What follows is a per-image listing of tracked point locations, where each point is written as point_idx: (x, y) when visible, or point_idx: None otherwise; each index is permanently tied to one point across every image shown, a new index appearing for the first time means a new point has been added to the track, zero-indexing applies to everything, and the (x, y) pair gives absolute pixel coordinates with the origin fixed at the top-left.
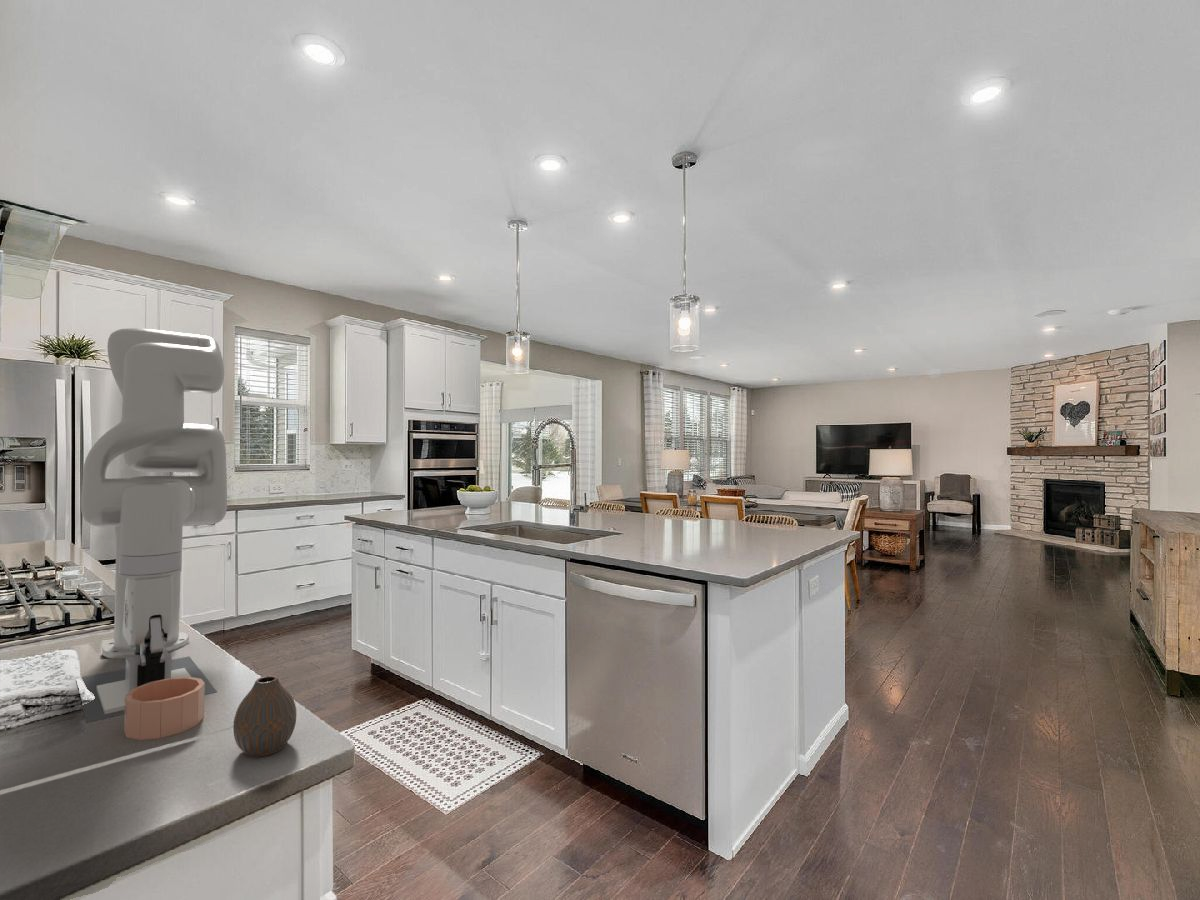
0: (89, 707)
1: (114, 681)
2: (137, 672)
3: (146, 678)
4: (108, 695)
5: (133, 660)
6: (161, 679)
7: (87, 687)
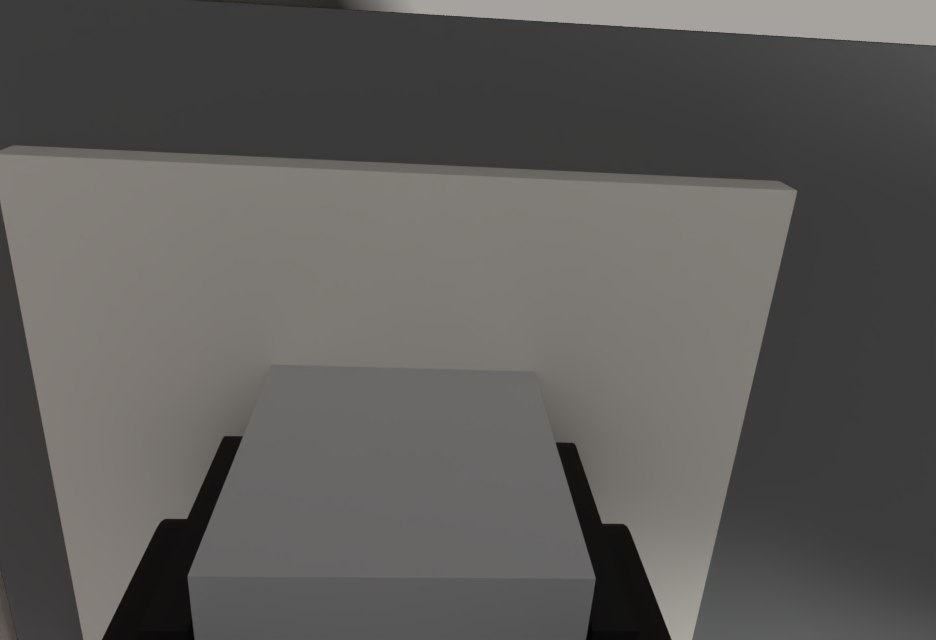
0: (305, 63)
1: (875, 325)
2: None
3: (136, 574)
4: (409, 235)
5: (375, 628)
6: None
7: (915, 125)
